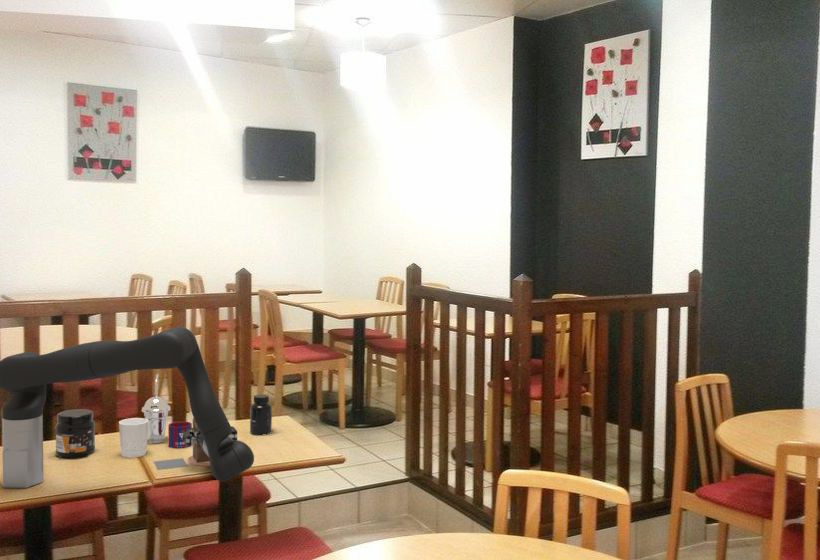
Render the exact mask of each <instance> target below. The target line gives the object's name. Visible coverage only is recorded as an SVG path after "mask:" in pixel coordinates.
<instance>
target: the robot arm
mask: <svg viewBox="0 0 820 560" xmlns="http://www.w3.org/2000/svg"><path fill="white" fill-rule="evenodd" d="M201 353H202V352H201V350H200V346H199V343H198V341H197V338H196V336H195V334H194V333H193V332H192V331H191V330H190V329H188V328H187V327H184V326H174V327H172V328H171V327H170V328H169V329H166V330H163V331H160V332H158V333H155V334H152V335H150V336H146V337H142V338H138V339H137V338H136V339H134V340H113V339H111V340H110V339H109V340H108V339H106V340H96V341H91V342H85V343H80V344H76V345H72V346H68V347H64V348H60V349H59V350H55V351H52V352H49V353H48V352H47V353H45V354H44V353H43V354H38V353H36V352H33V351H25V352H20V353H16V354H12V355H9V356H6V357H4V358H2V359H1V360H0V390H3V391H5V392H8V393H11V396H10V398H9V399H8V401H7V402H6V403H5V404H4V405H3V406H2V409H1V412H2V413H1V415H2V416H1V420H2V425H1V426H2V430H1V431H2V453H1V454H2V455H1V457H2V460H1V461H2V488H6V489H7V488H14V489H18V488H19V489H26V488H29V487H32V486H35V485H39V484H40V483H42V482H43V481H44V479H45V477H44V476H45V475H44V474H45V473H44V471H45V470H44V417H43V416H44V415H43V414H44V413H43V410H44V407H45V405H46V400H47V384H49V385H50V384H58V383H59V384H60V383H61V384H63V383H73V382H84V381H92V380H98V379H104V378H105V379H106V378H109V377H115V376H119V375H122V374H126V373H129V372H133V371H142V370H167V369H168V370H169V369H174V368H177V369H178V371H179V372H180V374H181V375H182V378H183V380H184V383H185V387H186V390H187V393H188V399H189V406H190V410H191V411H190V412H191V415H192V417H193V418H194V420H195V422H196V424H197V426H198V428H199V429H198V430H194V429H193V426H192V427H189V429H187V431H183V441H184V442H185V444H186V445H188V446H189V445H191V444H192V445H193V442H196V443H198V444H200V446H201V448H202V449H203V451H204V452H205V453H206V454H207V456H208V457H209V461H210V465H209V466H210V470H211V471H210V472H211V474H212V476H213V477H214V479H216V480H217V481H218V482H222V483H224V482H227V481H230V480H231V479H233V478H235V477H237V476H238V475H240V474H242V473H243V472H246V471H247V470H249V469H250V468H251V467H252V466H253V464H254V462H255V455H254V452H253V450H252V448H251V447H250V446H249V445H248V444H246V443H245V442H244V441H241V440H238V430H237V429H236V428H235V427H234V426H232V425H231V423H230V422H229V419H228V418H227V416H226V414H225V412H224V410H223V408H222V406H221V404H220V402H219V400H218V397H217V395H216V392H215V391H214V389H213V385H212V383H211V380H210V377H209V374H208V372H207V369H206V365H205V363H204V361H203V357H202V354H201ZM200 433H201V434H200ZM194 434H195V437H194ZM192 445H191V446H192Z"/></svg>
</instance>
